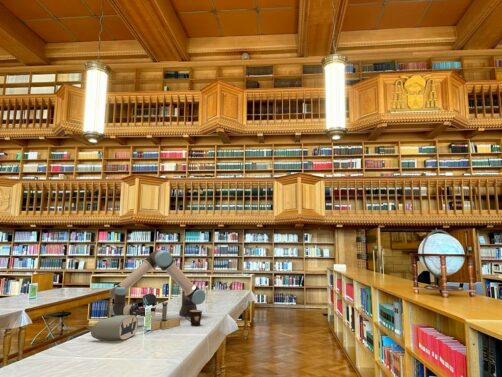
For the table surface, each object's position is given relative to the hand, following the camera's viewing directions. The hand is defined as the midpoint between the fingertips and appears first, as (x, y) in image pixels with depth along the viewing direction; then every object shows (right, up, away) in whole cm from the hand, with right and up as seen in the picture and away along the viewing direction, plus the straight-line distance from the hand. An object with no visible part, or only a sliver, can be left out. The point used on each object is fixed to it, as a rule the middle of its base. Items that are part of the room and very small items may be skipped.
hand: (159, 312), depth 260 cm
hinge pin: (+3, -10, -2) cm, 11 cm away
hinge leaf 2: (+7, -11, +2) cm, 13 cm away
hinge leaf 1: (0, -9, -6) cm, 11 cm away
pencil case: (-20, -6, -30) cm, 37 cm away
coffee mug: (+22, -12, +9) cm, 27 cm away
